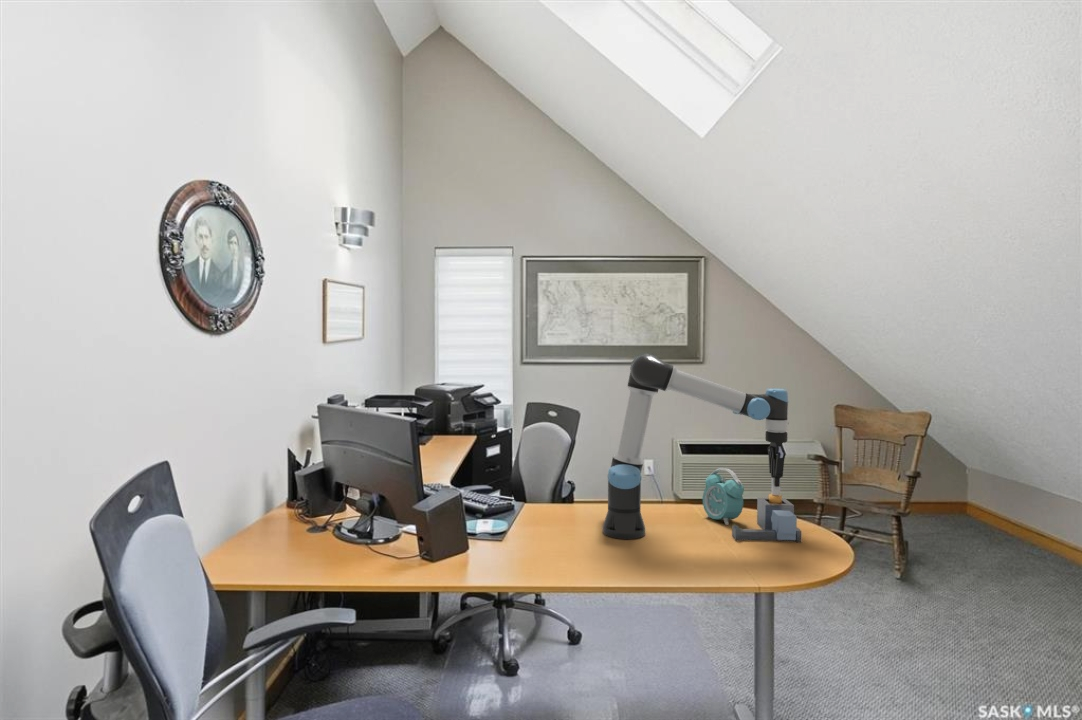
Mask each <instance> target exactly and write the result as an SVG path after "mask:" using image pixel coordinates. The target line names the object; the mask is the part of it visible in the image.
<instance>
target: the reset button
mask: <svg viewBox="0 0 1082 720" xmlns="http://www.w3.org/2000/svg"><path fill="white" fill-rule="evenodd" d="M768 498H769V503H773V504H782V498H783V495H782V494H780V495H772V494H771V493H769V494H768Z"/></svg>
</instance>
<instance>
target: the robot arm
mask: <svg viewBox="0 0 1082 720" xmlns="http://www.w3.org/2000/svg"><path fill="white" fill-rule="evenodd" d="M629 368H630V371H629V375H628V382H627V386H626V387H627V388H628V390H629V396H628V400H627V401H628V402H627V407H626V411H625V416H624V420H623V425H622V431H621V435H620V441H619V444H618V449H617V452H616V453H615V454H614V455H613V456H612V460H611V463H610V464H611V465H610V468H608V472H607V473H608V474H607V512H606V514H605V518H604V520H603V524H602V533H603V534H604V535H605V536H606V537H609V538H613V539H618V540H619V539H620V540H636V539H640V538H643V537H644V536H645V535H646V525H645V523H644V518H643V516H642V512H641V509H642V508H641V503H642V502H641V501H642V500H641V493H642V487H641V486H642V475H641V474H642V470H643V465H644V462H643V460H642V458H641V455H642V450H643V449H642V448H643V446H644V440H645V436H646V431H647V427H648V421H649V417H650V411H651V407H652V402H653V397H654V396H655V395H656V394H659V393H658V392H659V391H660V390H661V391H662V392H663V391H664V392H667V391H672V392H676V393H679V394H680V395H684V396H687V397H691V398H693V399H697V400H699V401H703V403H708V404H711V405H713V406H717V407H719V408H722V409H726V410H728V411H732V413H733V414H735V415H740V416H741V415H743V416H745V417H748V418H750V419H752V420H755V421H763V420H765V421H764V422H765V430H766V431H765V437H764V438H765V441H766V442H767V443H770V444H769V446H768V447H767V453H768V455H767V456H768V469H769V474H770V477H771V489H770V490H771V493H770V494H772V495H781V478H783V477H784V468H785V467H784V466H785V459H786V455H787V454H786V452H784V446H783V443H787V442H788V432H787V431H788V425H789V424H790V422H788V416H789V415H788V414H789V413H788V410H789V396H788V394H789V393H788V391H787V390H786V389H785V388H767V389H766V390H765V393H762V394H761V393H760V394H758V393H757V394H755V393H752V394H751V393H746V392H744V391H741V390H738V389H736V388H733V387H729V386H727V385H723V384H721V383H717V382H714V381H712V380H708V379H706V378H703V377H700V376H698V375H697V376H696V375H694V374H691V373H687V372H685V371H682V370H680V369H677V368H676V366H675V365H673V364H670V363H667V362H666V361H664V360H662V359H660V358H659V357H657V356H656V355H654V354H650V353H642V354H640V355H638V356H636V357H634V359H633V360H632V362H631V364H630V367H629Z"/></svg>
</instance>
